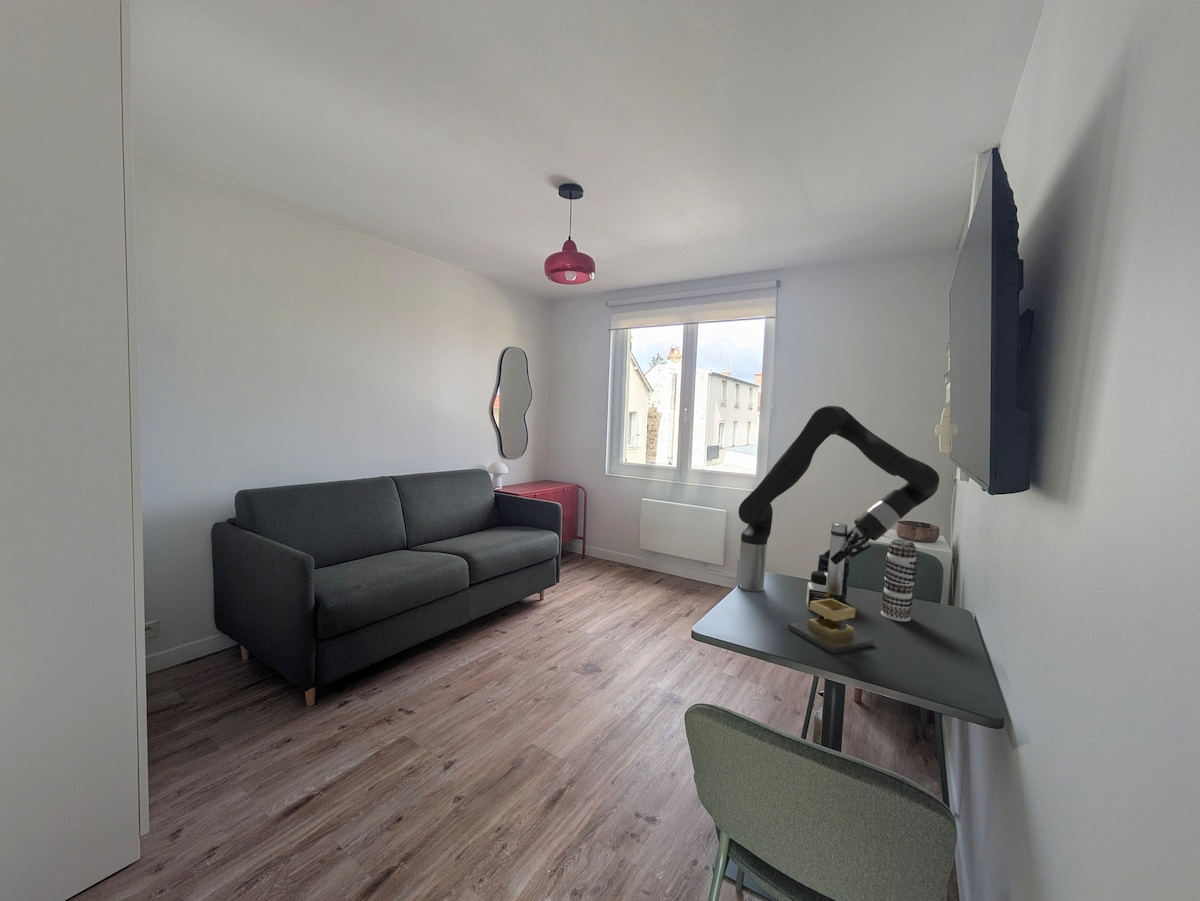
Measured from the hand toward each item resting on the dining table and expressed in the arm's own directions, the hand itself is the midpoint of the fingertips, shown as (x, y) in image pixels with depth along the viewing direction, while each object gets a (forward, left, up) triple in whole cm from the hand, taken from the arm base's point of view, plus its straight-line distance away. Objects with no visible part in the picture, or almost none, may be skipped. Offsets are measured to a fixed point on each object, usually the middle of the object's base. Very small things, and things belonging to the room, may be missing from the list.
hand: (829, 559), depth 141 cm
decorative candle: (-4, +37, -23) cm, 43 cm away
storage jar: (-21, +27, -23) cm, 41 cm away
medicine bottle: (-17, +17, -23) cm, 33 cm away
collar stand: (+1, +2, -23) cm, 23 cm away
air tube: (+1, +2, -10) cm, 10 cm away
